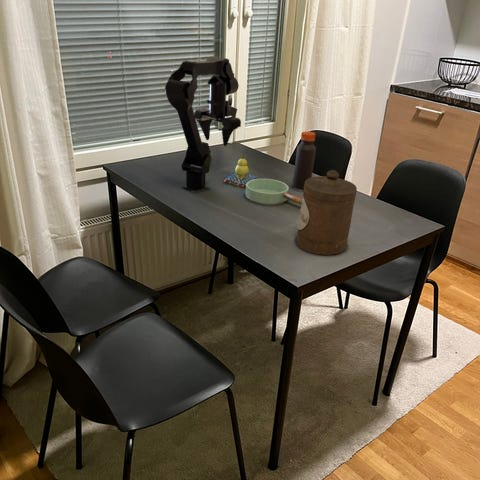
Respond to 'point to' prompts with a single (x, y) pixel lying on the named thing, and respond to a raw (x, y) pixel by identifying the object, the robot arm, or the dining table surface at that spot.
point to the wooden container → (326, 214)
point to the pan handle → (292, 198)
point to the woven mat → (239, 181)
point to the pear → (242, 168)
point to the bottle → (304, 160)
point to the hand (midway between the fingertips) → (216, 142)
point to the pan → (266, 191)
